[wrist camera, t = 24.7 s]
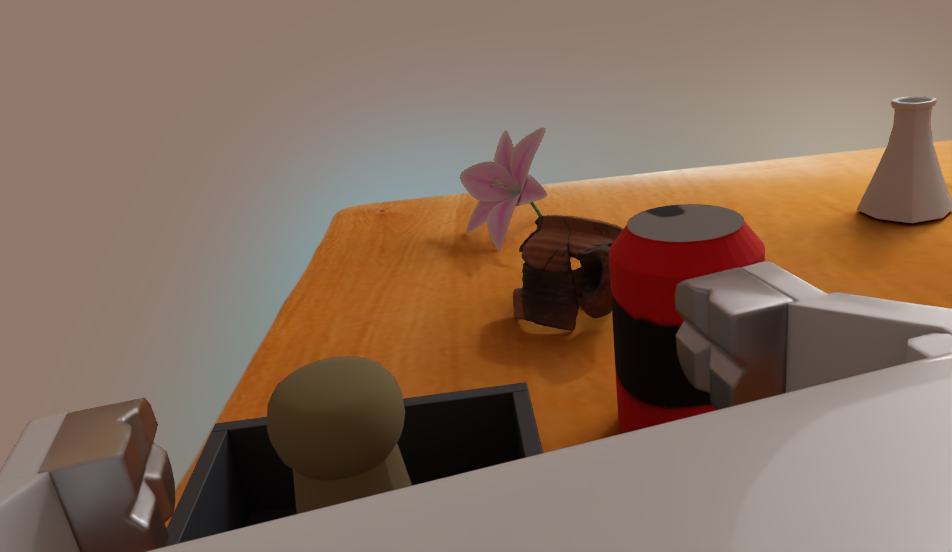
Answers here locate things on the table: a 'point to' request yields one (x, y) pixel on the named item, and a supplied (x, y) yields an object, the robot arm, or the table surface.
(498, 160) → the lily
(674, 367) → the soda can
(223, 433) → the open box
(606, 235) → the broken clay pot
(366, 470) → the cork
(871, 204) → the flask
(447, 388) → the table surface
